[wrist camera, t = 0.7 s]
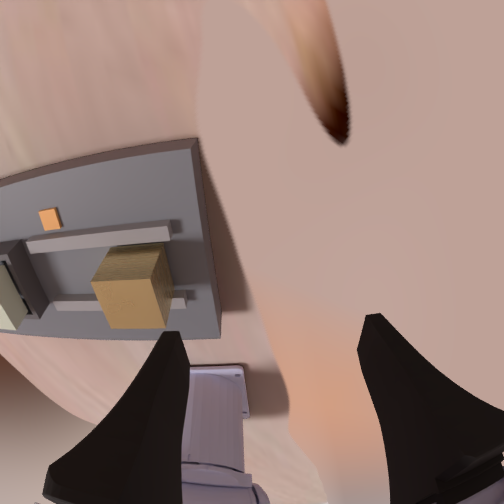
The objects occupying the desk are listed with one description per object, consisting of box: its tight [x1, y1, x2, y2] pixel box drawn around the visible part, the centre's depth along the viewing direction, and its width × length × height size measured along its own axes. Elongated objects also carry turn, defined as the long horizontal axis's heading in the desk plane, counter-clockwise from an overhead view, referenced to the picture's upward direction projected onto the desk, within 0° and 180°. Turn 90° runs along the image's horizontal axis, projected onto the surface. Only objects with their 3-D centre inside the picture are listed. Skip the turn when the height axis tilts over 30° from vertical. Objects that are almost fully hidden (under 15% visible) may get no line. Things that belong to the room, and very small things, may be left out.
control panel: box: [0, 138, 222, 340], centre depth 17 cm, size 12×23×4 cm, turn 93°
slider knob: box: [91, 243, 175, 329], centre depth 15 cm, size 3×3×3 cm
